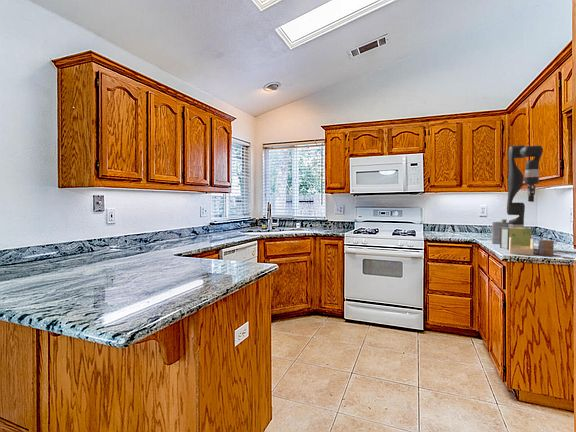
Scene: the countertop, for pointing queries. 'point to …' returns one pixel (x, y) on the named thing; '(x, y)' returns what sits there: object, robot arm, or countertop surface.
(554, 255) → the mat
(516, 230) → the protein box
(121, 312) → the countertop surface
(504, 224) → the hip flask
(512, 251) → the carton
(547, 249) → the walnut block
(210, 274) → the countertop surface
